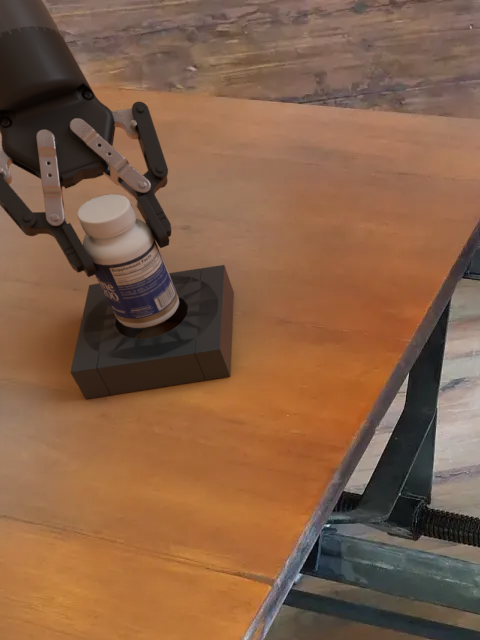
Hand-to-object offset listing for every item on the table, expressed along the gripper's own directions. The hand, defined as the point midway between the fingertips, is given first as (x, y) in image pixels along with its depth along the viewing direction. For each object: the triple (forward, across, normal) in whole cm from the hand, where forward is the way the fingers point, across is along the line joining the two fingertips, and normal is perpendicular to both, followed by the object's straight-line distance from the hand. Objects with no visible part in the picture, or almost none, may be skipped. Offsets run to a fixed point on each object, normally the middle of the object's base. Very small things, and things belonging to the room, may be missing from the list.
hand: (128, 257), depth 70 cm
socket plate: (+6, 0, +8) cm, 10 cm away
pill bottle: (+3, 0, +6) cm, 7 cm away
